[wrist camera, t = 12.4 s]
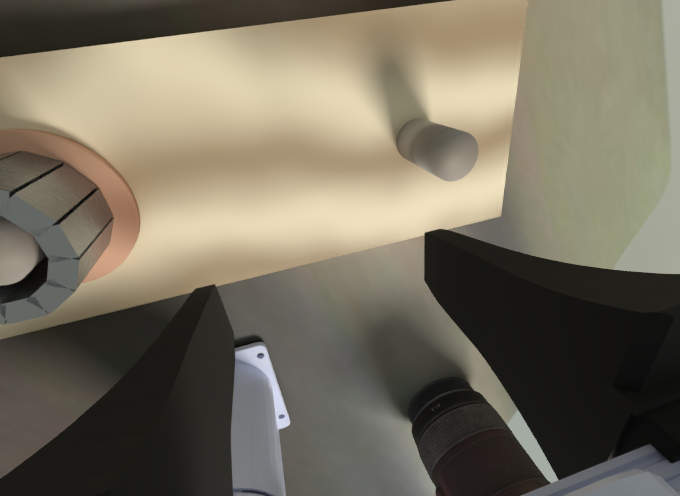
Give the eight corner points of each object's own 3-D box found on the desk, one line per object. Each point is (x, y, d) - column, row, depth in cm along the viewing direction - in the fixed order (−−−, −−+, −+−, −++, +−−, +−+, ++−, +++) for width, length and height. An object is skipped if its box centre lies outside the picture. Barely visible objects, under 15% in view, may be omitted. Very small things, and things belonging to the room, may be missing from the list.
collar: (139, 216, 16) (112, 258, 13) (61, 287, 17) (15, 345, 13) (15, 123, 13) (-63, 143, 10) (-73, 212, 14) (-175, 261, 10)
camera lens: (458, 426, 36) (579, 623, 23) (391, 432, 33) (485, 659, 21) (489, 370, 33) (649, 564, 20) (417, 373, 30) (548, 598, 17)
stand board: (486, 208, 24) (553, 246, 19) (4, 323, 19) (-82, 418, 14) (508, -4, 18) (615, -32, 13) (-194, 85, 13) (-476, 99, 8)
